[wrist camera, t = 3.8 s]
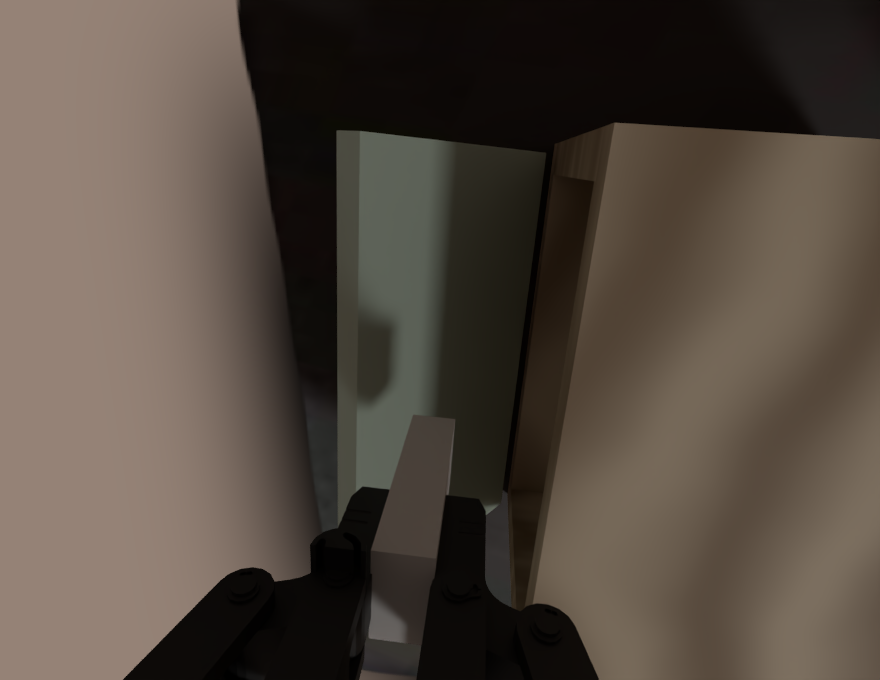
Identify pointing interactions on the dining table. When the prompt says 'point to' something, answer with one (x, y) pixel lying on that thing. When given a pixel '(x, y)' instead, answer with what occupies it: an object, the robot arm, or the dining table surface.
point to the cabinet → (705, 405)
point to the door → (430, 301)
